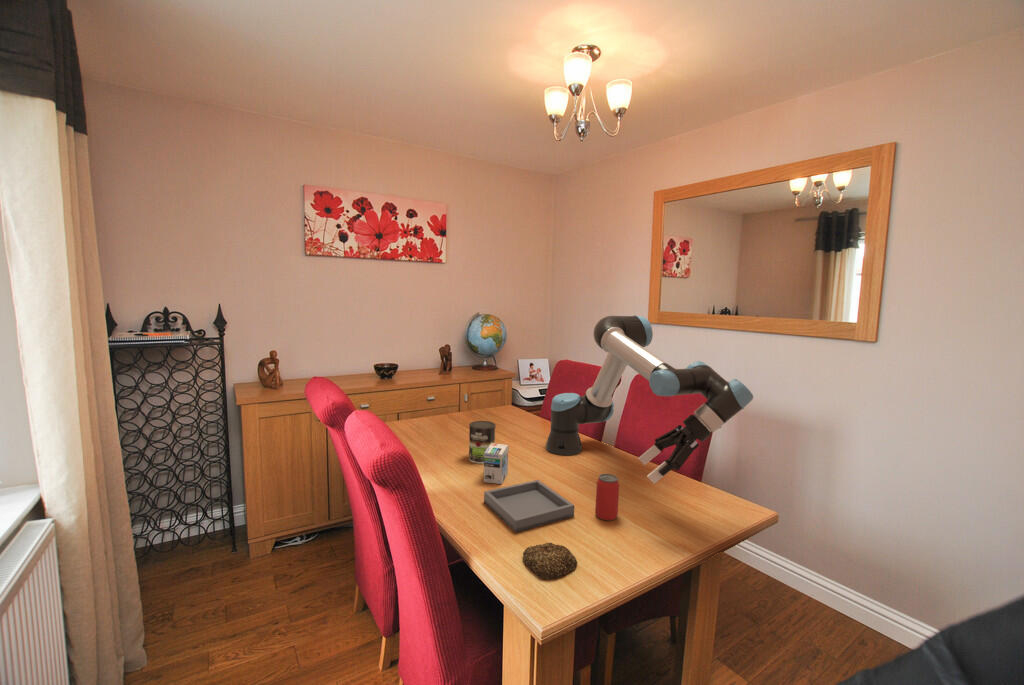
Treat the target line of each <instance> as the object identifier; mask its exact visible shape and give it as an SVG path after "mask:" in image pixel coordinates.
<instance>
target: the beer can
mask: <svg viewBox="0 0 1024 685" xmlns="http://www.w3.org/2000/svg"><path fill="white" fill-rule="evenodd" d="M595 488H596V491H595V508H594V509H595V510H594V512H595V516H596V517H597V518H599V519H601V520H604V521H613V520H615V519H617V517H618V516H619V499H620V498H619V497H620V483H619V478H618V476H616V475H615V474H612V473H602V474H600V475H598V479H597V482H596V487H595Z"/></svg>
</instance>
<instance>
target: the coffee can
mask: <svg viewBox="0 0 1024 685" xmlns="http://www.w3.org/2000/svg"><path fill="white" fill-rule="evenodd" d="M468 436H469V442H468V446H469V447H468V449H469V450H468V460H469V462H471V463H473V464H478V465H484V452H485V451H486V450H487V448H488V447H489V446H490V444H491V443H495V444H496V423H494V422H492V421H489V420H475V421H472V422H469V434H468Z"/></svg>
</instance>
